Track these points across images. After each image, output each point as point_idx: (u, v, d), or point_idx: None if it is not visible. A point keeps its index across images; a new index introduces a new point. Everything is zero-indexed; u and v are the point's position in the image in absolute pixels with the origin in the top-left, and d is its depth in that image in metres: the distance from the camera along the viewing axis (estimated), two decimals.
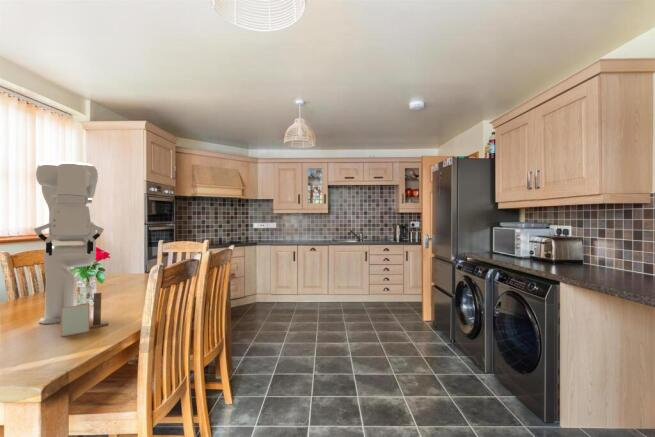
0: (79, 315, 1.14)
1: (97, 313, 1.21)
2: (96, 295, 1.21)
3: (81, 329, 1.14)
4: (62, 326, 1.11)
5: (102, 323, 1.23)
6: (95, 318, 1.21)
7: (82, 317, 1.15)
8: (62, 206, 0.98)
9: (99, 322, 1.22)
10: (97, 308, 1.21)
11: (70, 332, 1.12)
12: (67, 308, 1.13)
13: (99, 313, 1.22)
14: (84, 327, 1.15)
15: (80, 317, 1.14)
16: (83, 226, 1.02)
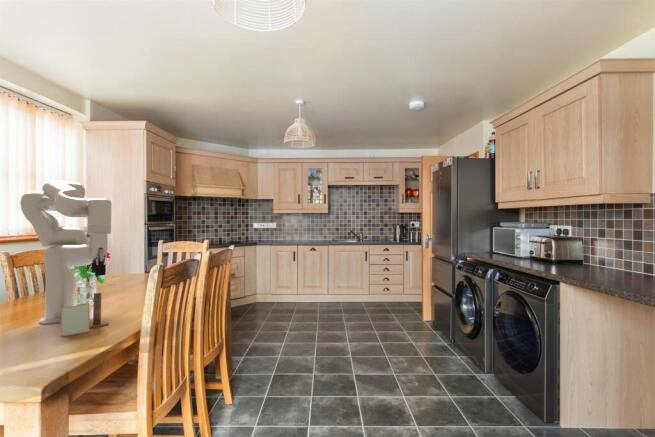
0: (79, 315, 1.14)
1: (97, 313, 1.21)
2: (96, 295, 1.21)
3: (81, 329, 1.14)
4: (62, 326, 1.11)
5: (102, 323, 1.23)
6: (95, 318, 1.21)
7: (82, 317, 1.15)
8: None
9: (99, 322, 1.22)
10: (97, 308, 1.21)
11: (70, 332, 1.12)
12: (67, 308, 1.13)
13: (99, 313, 1.22)
14: (84, 327, 1.15)
15: (80, 317, 1.14)
16: None
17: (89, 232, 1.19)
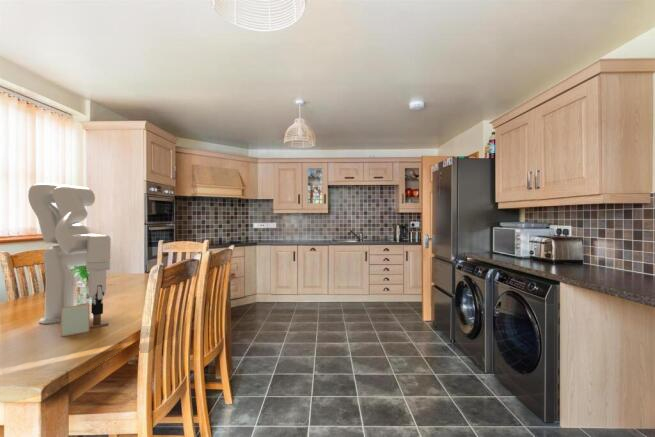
0: (79, 315, 1.14)
1: None
2: (96, 295, 1.21)
3: (81, 329, 1.14)
4: (62, 326, 1.11)
5: (102, 323, 1.23)
6: (95, 318, 1.21)
7: (82, 317, 1.15)
8: None
9: (99, 322, 1.22)
10: None
11: (70, 332, 1.12)
12: (67, 308, 1.13)
13: None
14: (84, 327, 1.15)
15: (80, 317, 1.14)
16: None
17: (88, 269, 1.19)
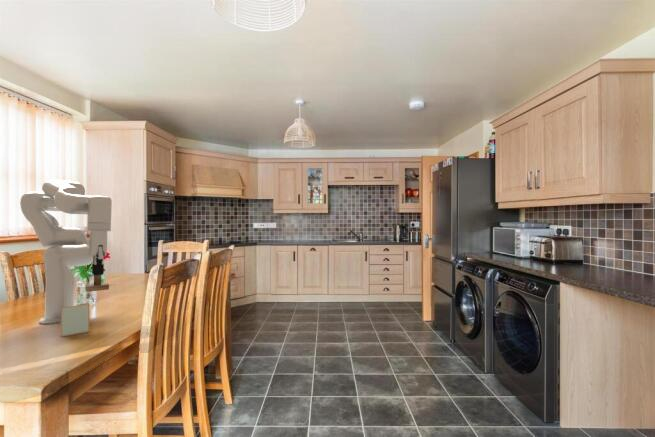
0: (79, 315, 1.14)
1: None
2: None
3: (81, 329, 1.14)
4: (62, 326, 1.11)
5: (103, 284, 1.23)
6: (96, 278, 1.21)
7: (82, 317, 1.15)
8: None
9: (100, 283, 1.22)
10: None
11: (70, 332, 1.12)
12: (67, 308, 1.13)
13: None
14: (84, 327, 1.15)
15: (80, 317, 1.14)
16: None
17: (89, 229, 1.19)
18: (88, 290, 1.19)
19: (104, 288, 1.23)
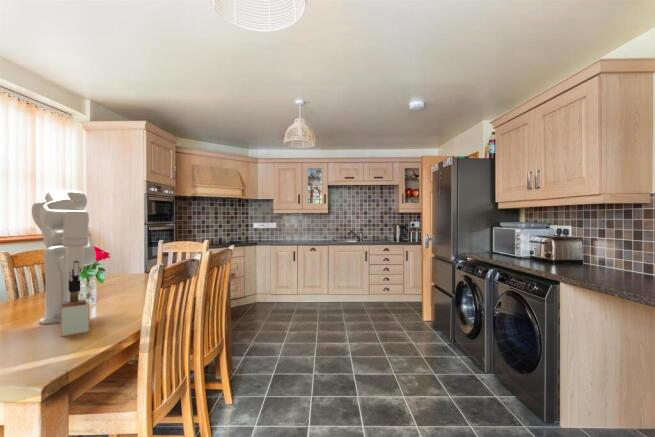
0: (79, 315, 1.14)
1: None
2: (73, 272, 1.18)
3: (81, 329, 1.14)
4: (62, 326, 1.11)
5: (80, 301, 1.20)
6: (72, 295, 1.18)
7: (82, 317, 1.15)
8: (83, 247, 1.20)
9: (76, 299, 1.19)
10: None
11: (70, 332, 1.12)
12: (67, 308, 1.13)
13: None
14: (84, 327, 1.15)
15: (80, 317, 1.14)
16: None
17: (64, 245, 1.16)
18: None
19: None
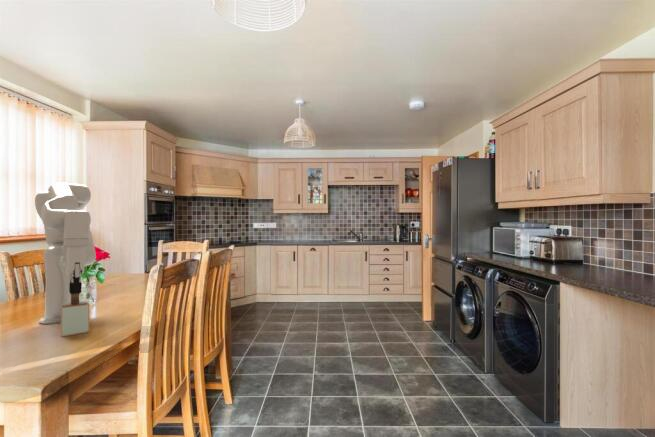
0: (79, 315, 1.14)
1: None
2: (74, 273, 1.15)
3: (81, 329, 1.14)
4: (62, 326, 1.11)
5: (81, 303, 1.17)
6: (73, 297, 1.15)
7: (82, 317, 1.15)
8: (85, 248, 1.17)
9: (77, 302, 1.16)
10: None
11: (70, 332, 1.12)
12: (67, 308, 1.12)
13: None
14: (84, 327, 1.15)
15: (80, 317, 1.14)
16: None
17: (65, 246, 1.13)
18: None
19: None
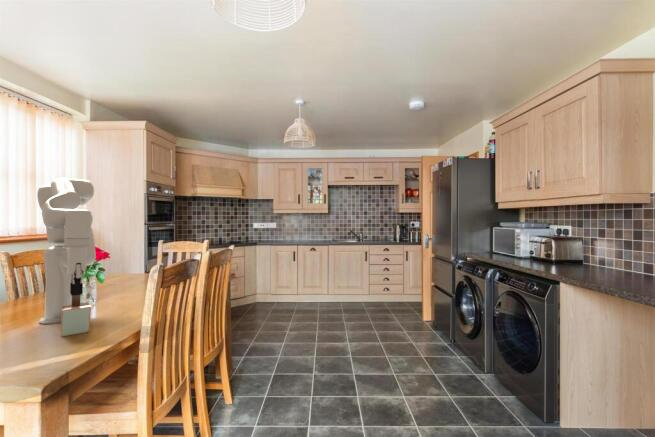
0: (79, 317, 1.12)
1: None
2: None
3: (81, 330, 1.13)
4: (62, 327, 1.09)
5: (82, 304, 1.14)
6: (74, 299, 1.12)
7: (83, 319, 1.13)
8: (86, 248, 1.14)
9: (78, 303, 1.13)
10: None
11: (70, 332, 1.11)
12: (68, 310, 1.09)
13: None
14: (84, 327, 1.14)
15: (81, 319, 1.13)
16: None
17: (66, 246, 1.10)
18: None
19: None
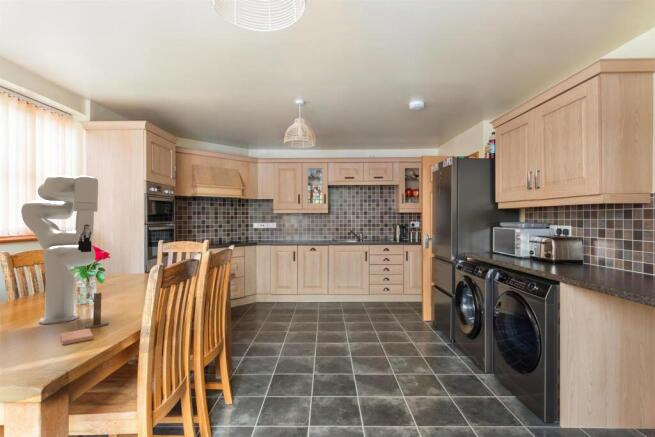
0: None
1: (97, 313, 1.21)
2: (96, 295, 1.21)
3: None
4: None
5: (102, 323, 1.23)
6: (95, 318, 1.21)
7: None
8: (93, 212, 1.23)
9: (99, 322, 1.22)
10: (97, 308, 1.21)
11: None
12: (69, 343, 1.04)
13: (99, 313, 1.22)
14: None
15: None
16: None
17: (75, 209, 1.20)
18: None
19: None
